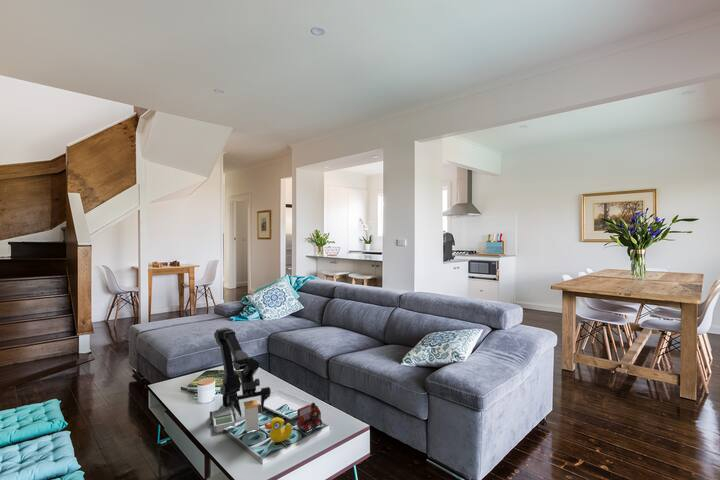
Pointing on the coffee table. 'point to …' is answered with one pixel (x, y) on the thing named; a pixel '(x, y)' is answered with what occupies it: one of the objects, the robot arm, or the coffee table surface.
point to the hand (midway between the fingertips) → (251, 414)
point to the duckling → (278, 430)
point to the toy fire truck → (309, 417)
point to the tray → (282, 402)
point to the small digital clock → (222, 419)
